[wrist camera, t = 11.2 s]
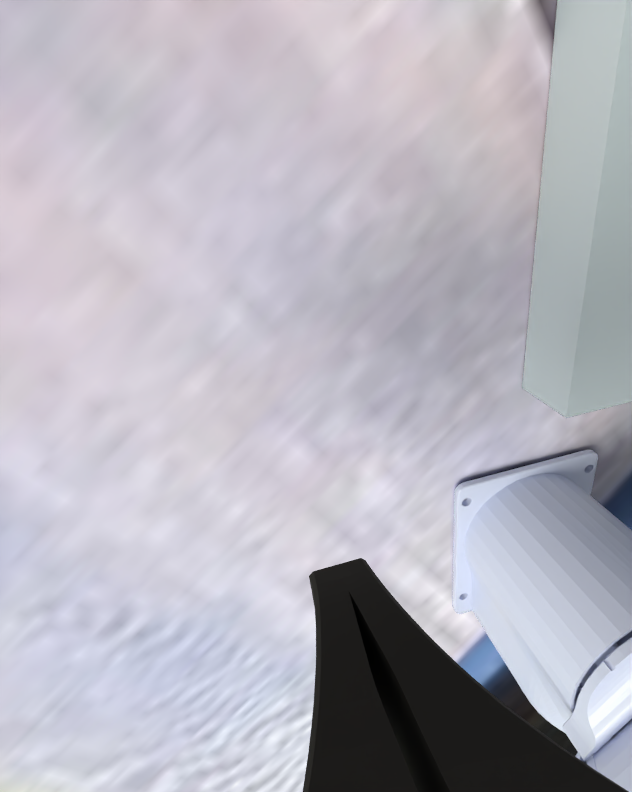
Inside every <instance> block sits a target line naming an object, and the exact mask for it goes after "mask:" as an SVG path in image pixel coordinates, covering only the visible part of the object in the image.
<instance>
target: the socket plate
mask: <svg viewBox="0 0 632 792" xmlns="http://www.w3.org/2000/svg"><path fill="white" fill-rule="evenodd" d="M522 388H523V389H524V390H526V391H527V392H529V393H530V394H532V395H533V396H535V397H536V398H538V399H539V400H540V401H542V402H543V403H545V404H546V405H548V406H549V407H551V408H552V409H553V410H555V411H556V412H558V413H559V414H561V415H562V416H564V417H565V418H569V417H573V416H577V415H581V414H585V413H589V412H593V411H597V410H601V409H605V408H609V407H613V406H616V405H620V404H624V403H628V402H632V0H558V1H557V12H556V22H555V33H554V44H553V55H552V66H551V77H550V88H549V99H548V110H547V121H546V132H545V143H544V154H543V164H542V175H541V186H540V197H539V208H538V219H537V230H536V241H535V252H534V263H533V274H532V285H531V295H530V306H529V317H528V328H527V339H526V350H525V361H524V372H523V383H522Z"/></svg>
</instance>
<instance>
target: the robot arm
mask: <svg viewBox="0 0 632 792" xmlns="http://www.w3.org/2000/svg"><path fill="white" fill-rule="evenodd" d="M597 461H598V455H597V453H595V452H594V451H593V450H590V449H589V450H584V451H580V452H576V453H572V454H569V455H565V456H561V457H557V458H554V459H550V460H546V461H542V462H538V463H535V464H531V465H527V466H523V467H520V468H516V469H512V470H508V471H505V472H501V473H497V474H493V475H490V476H486V477H482V478H478V479H474V480H471V481H467V482H463V483H461V484H459V485H458V486H457V487H456V489H455V492H454V544H453V597H452V606H453V609H454V610H455V612H456V613H458V614H462V613H466V612H469V611H473V613H474V614H475V616H476V617H477V619H478V621H479V622H480V624H481V625H482V627H483V628H484V630H485V632H486V633H487V635H488V636H489V638H490V640H491V641H492V643H493V644H494V646H495V648H496V649H497V651H498V652H499V654H500V656H501V657H502V659H503V660H504V662H505V664H506V665H507V667H508V668H509V670H510V671H511V673H512V675H513V676H514V678H515V679H516V681H517V683H518V684H519V686H520V687H521V689H522V691H523V692H524V694H525V695H526V697H527V698H528V700H529V701H530V703H531V704H532V705H533V707H534V708H535V709H536V710H537V711H538V712H539V713H540V714H541V715H542V716H543V717H544V718H545V719H546V720H547V721H549V722H550V723H551V724H552V725H554V726H555V727H557V728H558V729H560V730H561V731H563V732H564V733H566V734H567V736H568V737H569V739H570V740H571V742H572V744H573V745H574V747H575V748H576V750H577V751H578V753H577V755H576V756H574V755H572V754H571V753H569V752H568V751H566V750H565V749H564V748H562V747H561V746H559V745H558V744H557V743H555V742H554V741H553V740H551V739H550V738H549V737H547V736H546V735H545V734H543V733H542V732H540V731H539V730H538V729H536V728H535V727H534V726H532V725H531V724H530V723H528V722H527V721H526V720H524V719H523V718H521V717H520V716H519V715H517V714H516V713H515V712H514V711H512V710H511V709H510V708H509V707H507V706H506V705H505V704H504V703H502V702H501V701H500V700H499V699H497V698H496V697H495V696H494V695H493V694H491V693H490V692H489V691H488V690H487V689H485V688H484V687H483V686H482V685H481V684H480V683H478V682H477V681H476V680H475V679H474V678H473V677H471V676H470V675H469V674H468V673H467V672H466V671H465V670H464V669H463V668H461V667H460V666H459V665H458V664H457V663H456V662H455V661H454V660H453V659H452V658H451V657H450V656H449V655H448V654H447V653H446V652H445V651H444V650H442V649H441V648H440V647H439V646H438V645H437V644H436V643H435V642H434V641H433V640H432V639H431V638H430V637H429V636H428V635H427V634H426V633H425V632H424V630H423V629H422V628H421V627H420V626H419V625H418V624H417V623H416V622H415V621H414V620H413V619H412V618H411V616H410V615H409V614H408V613H407V612H406V611H405V610H404V609H403V608H402V607H401V605H400V604H399V603H398V602H397V601H396V600H395V598H394V597H393V596H392V595H391V594H390V592H389V591H388V590H387V589H386V588H385V586H384V585H383V584H382V583H381V581H380V580H379V579H378V577H377V576H376V575H375V573H374V572H373V571H372V569H371V568H370V566H369V565H368V564H367V562H366V561H365V560H364V559H362V558H360V559H356V560H353V561H349V562H346V563H342V564H338V565H335V566H331V567H328V568H324V569H321V570H317V571H314V572H312V574H311V575H310V576H309V578H310V584H311V589H312V595H313V600H314V606H315V616H316V675H315V693H314V707H313V718H312V728H311V737H310V745H309V753H308V760H307V767H306V774H305V781H304V788H303V792H632V530H631V529H629V528H628V527H627V526H626V525H625V524H623V523H622V522H621V521H620V520H619V519H618V518H616V517H615V516H614V515H613V514H612V513H610V512H609V511H608V510H607V509H606V508H604V507H603V506H602V505H601V504H600V503H598V502H597V501H596V500H595V499H594V498H592V497H591V493H592V488H593V482H594V477H595V472H596V467H597ZM466 498H467V499H466ZM464 499H466V500H464ZM463 500H464V501H463Z"/></svg>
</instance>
